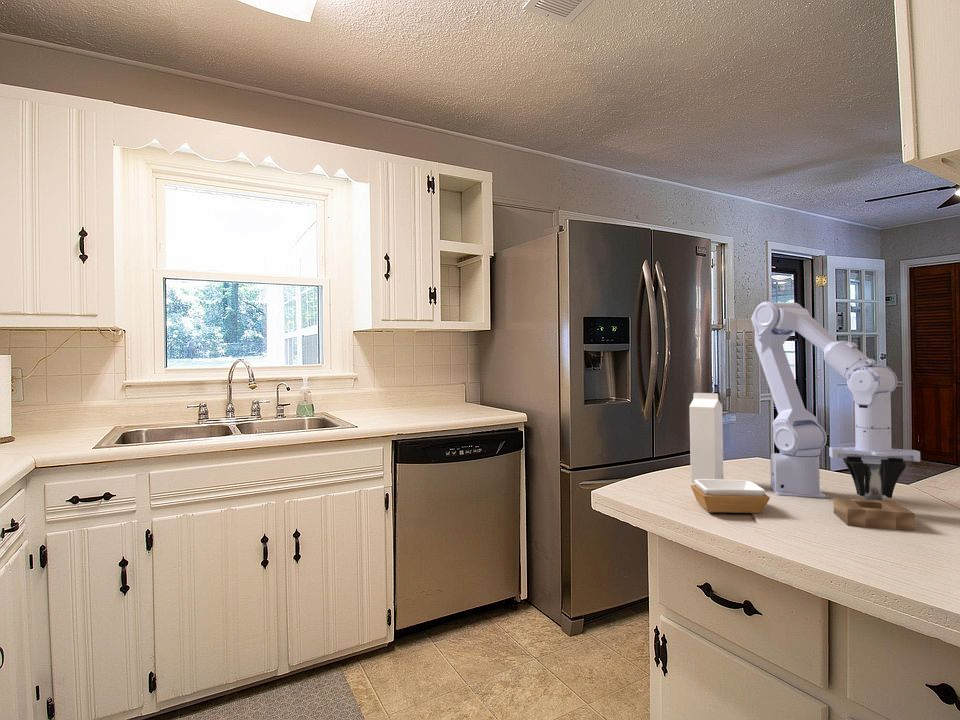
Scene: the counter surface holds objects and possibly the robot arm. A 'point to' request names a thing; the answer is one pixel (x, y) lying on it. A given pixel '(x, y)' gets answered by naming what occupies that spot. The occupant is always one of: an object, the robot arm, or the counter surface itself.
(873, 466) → the peg
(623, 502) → the counter surface
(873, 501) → the block
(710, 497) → the soap dish
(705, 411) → the milk
